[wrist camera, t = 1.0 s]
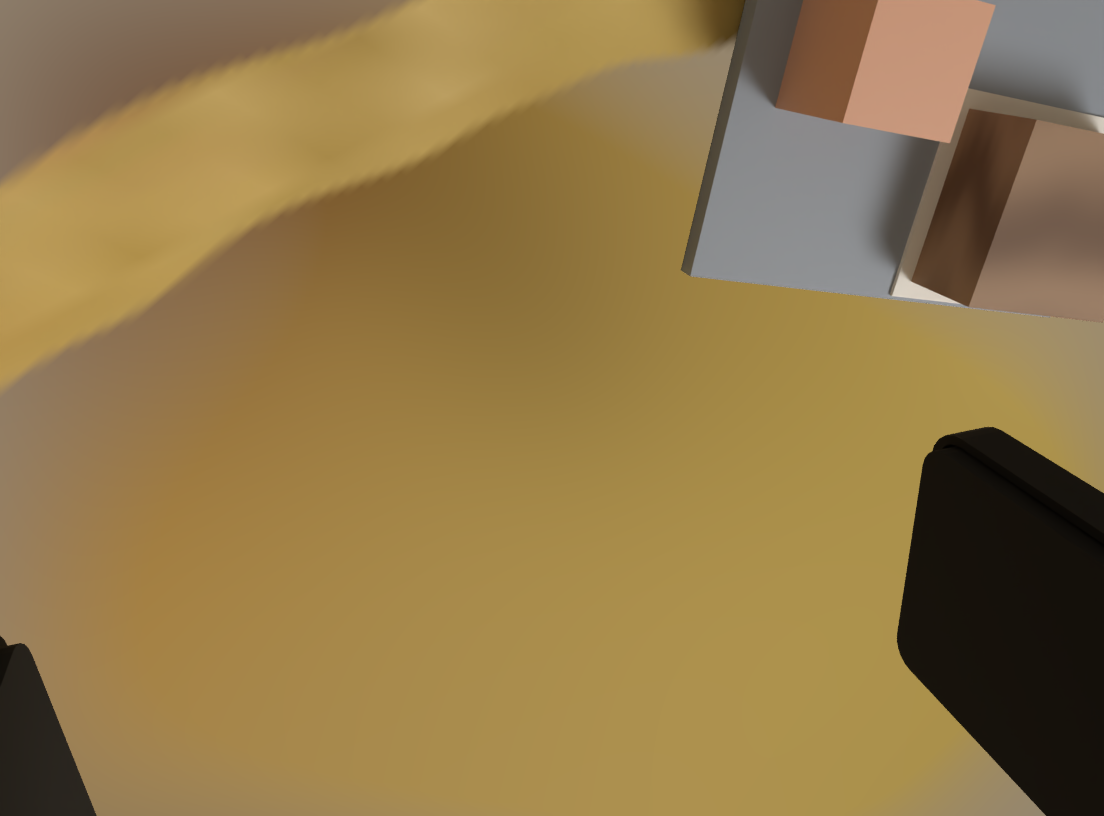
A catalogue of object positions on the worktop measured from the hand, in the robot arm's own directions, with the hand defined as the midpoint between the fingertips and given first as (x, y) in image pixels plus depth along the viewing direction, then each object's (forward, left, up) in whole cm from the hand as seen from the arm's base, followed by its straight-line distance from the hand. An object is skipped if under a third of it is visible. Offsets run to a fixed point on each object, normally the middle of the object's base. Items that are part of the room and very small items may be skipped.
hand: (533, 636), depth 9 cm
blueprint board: (-5, +26, -29) cm, 39 cm away
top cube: (-8, +20, -28) cm, 35 cm away
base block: (-3, +31, -28) cm, 42 cm away
